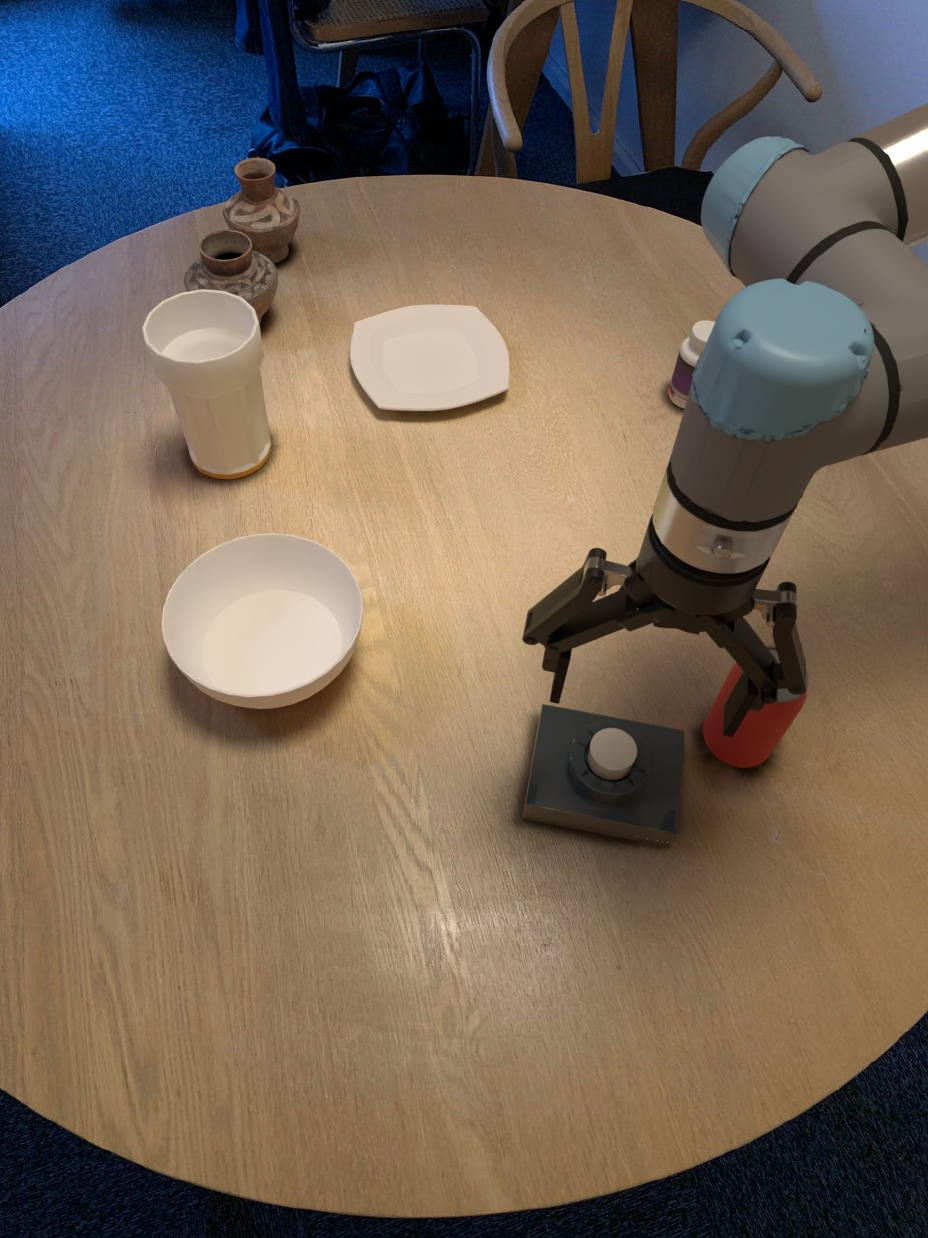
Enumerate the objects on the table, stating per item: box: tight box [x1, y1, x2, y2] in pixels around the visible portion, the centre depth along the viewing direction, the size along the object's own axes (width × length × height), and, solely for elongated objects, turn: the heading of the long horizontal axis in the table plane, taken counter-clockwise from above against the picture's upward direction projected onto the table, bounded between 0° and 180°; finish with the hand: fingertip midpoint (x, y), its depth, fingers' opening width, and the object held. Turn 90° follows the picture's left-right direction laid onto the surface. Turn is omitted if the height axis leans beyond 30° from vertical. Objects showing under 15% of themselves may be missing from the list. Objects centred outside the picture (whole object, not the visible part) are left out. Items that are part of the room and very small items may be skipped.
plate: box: [349, 304, 511, 412], centre depth 114 cm, size 19×19×2 cm
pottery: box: [183, 157, 301, 325], centre depth 118 cm, size 11×25×12 cm, turn 173°
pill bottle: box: [668, 320, 716, 410], centre depth 110 cm, size 5×5×10 cm
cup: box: [141, 289, 273, 480], centre depth 99 cm, size 11×11×17 cm
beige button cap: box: [587, 728, 637, 780], centre depth 80 cm, size 4×4×2 cm
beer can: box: [702, 644, 810, 769], centre depth 82 cm, size 7×7×12 cm
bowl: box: [161, 532, 365, 710], centre depth 88 cm, size 18×18×7 cm
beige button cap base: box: [522, 703, 685, 848], centre depth 82 cm, size 13×10×5 cm
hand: (641, 705), depth 74 cm, fingers open, 13 cm apart
